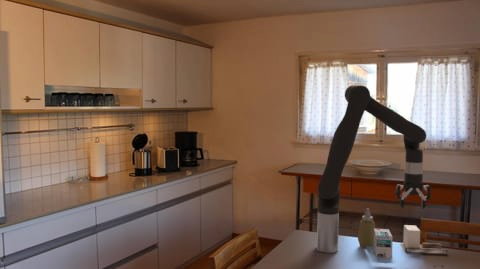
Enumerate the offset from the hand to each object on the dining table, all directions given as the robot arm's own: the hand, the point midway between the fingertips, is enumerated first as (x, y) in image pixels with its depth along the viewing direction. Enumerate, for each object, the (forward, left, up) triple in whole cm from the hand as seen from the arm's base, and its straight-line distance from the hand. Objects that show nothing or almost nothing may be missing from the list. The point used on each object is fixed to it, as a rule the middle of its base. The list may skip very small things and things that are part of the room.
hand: (412, 208), depth 192 cm
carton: (0, 0, -18) cm, 18 cm away
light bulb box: (-14, -9, -20) cm, 26 cm away
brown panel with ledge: (+4, -1, -19) cm, 20 cm away
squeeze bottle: (-19, +2, -20) cm, 27 cm away
